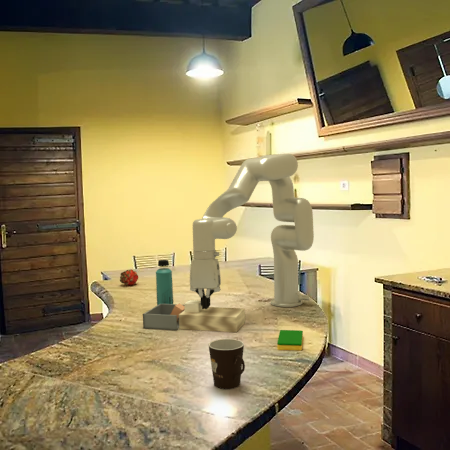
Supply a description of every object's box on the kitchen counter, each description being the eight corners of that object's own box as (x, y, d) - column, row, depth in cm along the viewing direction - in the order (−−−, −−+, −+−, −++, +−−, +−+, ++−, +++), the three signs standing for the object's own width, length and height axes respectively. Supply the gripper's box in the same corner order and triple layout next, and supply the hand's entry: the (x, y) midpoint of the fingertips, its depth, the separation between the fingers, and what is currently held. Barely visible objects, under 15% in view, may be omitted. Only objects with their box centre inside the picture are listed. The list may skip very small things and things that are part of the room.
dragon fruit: (122, 291, 247) (132, 289, 258) (136, 280, 246) (145, 279, 257) (113, 276, 248) (123, 275, 260) (126, 266, 247) (136, 265, 259)
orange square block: (186, 307, 183) (179, 303, 184) (182, 310, 178) (174, 305, 179) (180, 319, 184) (173, 315, 184) (175, 322, 179) (168, 318, 179)
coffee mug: (208, 378, 131) (207, 339, 130) (242, 376, 131) (241, 338, 130) (211, 397, 119) (210, 355, 118) (248, 395, 120) (247, 353, 119)
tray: (191, 318, 188) (191, 305, 188) (176, 330, 174) (176, 315, 173) (160, 316, 192) (160, 303, 191) (143, 328, 177) (142, 314, 177)
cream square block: (202, 309, 181) (202, 300, 181) (198, 312, 176) (198, 304, 176) (189, 308, 183) (189, 300, 182) (184, 312, 178) (184, 303, 178)
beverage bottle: (171, 313, 196) (169, 261, 195) (154, 313, 198) (152, 261, 196) (176, 309, 203) (174, 258, 201) (159, 308, 204) (158, 258, 202)
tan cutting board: (244, 322, 181) (244, 308, 181) (236, 332, 170) (236, 317, 169) (191, 319, 187) (190, 306, 186) (179, 329, 175) (178, 314, 175)
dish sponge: (302, 337, 164) (302, 330, 164) (301, 352, 150) (301, 343, 150) (280, 337, 165) (280, 329, 165) (277, 351, 152) (277, 343, 151)
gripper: (228, 254, 178) (229, 306, 180) (187, 253, 182) (188, 304, 184) (222, 257, 171) (223, 311, 173) (179, 256, 175) (181, 309, 177)
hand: (205, 307), depth 178 cm, fingers closed
